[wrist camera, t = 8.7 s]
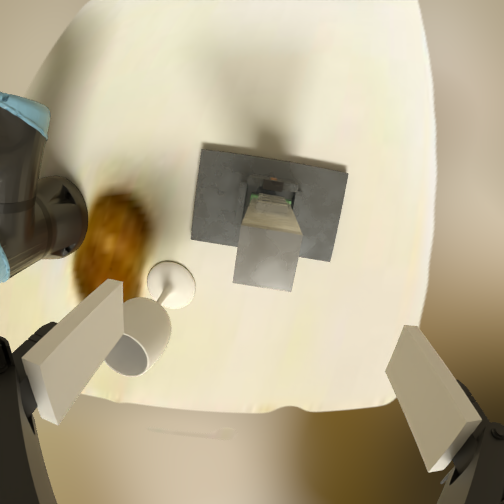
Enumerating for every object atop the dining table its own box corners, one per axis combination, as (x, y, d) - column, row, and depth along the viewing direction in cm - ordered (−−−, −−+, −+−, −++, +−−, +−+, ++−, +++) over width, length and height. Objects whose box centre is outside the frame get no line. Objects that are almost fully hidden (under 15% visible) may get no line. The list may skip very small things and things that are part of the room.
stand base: (192, 237, 51) (176, 256, 42) (203, 149, 47) (187, 148, 37) (328, 259, 51) (340, 282, 42) (346, 173, 47) (364, 177, 37)
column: (246, 228, 43) (229, 284, 24) (252, 188, 41) (239, 215, 23) (283, 234, 43) (293, 294, 24) (290, 194, 41) (307, 226, 23)
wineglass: (200, 270, 52) (162, 338, 32) (190, 314, 55) (153, 393, 35) (151, 255, 52) (91, 312, 32) (144, 299, 55) (90, 368, 35)
